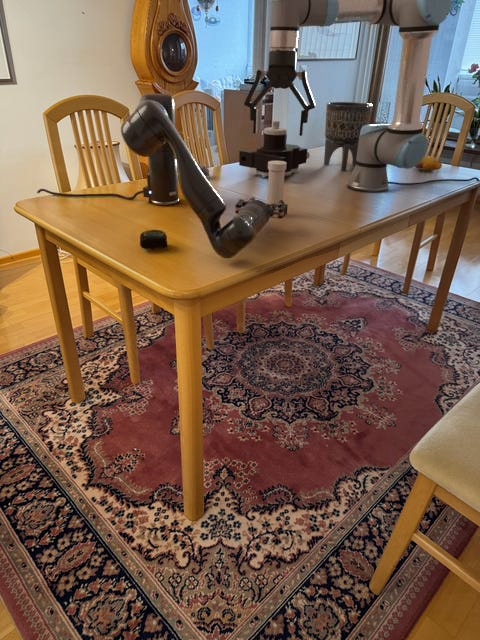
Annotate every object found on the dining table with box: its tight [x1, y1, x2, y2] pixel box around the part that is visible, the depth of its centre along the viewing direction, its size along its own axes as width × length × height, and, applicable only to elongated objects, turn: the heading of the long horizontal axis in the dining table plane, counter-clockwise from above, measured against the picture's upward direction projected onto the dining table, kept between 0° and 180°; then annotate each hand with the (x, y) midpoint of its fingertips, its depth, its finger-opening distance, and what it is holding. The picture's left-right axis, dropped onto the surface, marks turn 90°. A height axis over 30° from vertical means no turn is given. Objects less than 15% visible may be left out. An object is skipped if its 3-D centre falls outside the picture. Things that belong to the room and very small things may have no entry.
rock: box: [177, 162, 210, 180], centre depth 183 cm, size 13×9×6 cm, turn 131°
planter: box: [323, 101, 374, 172], centre depth 204 cm, size 20×20×26 cm
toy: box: [415, 156, 443, 172], centre depth 207 cm, size 11×6×15 cm
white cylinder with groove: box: [268, 161, 286, 171], centre depth 137 cm, size 6×6×2 cm
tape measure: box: [139, 229, 168, 250], centre depth 117 cm, size 7×7×4 cm
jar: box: [266, 170, 285, 218], centre depth 141 cm, size 5×5×16 cm
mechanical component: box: [238, 120, 311, 178], centre depth 191 cm, size 22×21×30 cm
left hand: (267, 201), depth 134 cm, fingers open, 8 cm apart
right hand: (277, 134), depth 133 cm, fingers open, 13 cm apart
